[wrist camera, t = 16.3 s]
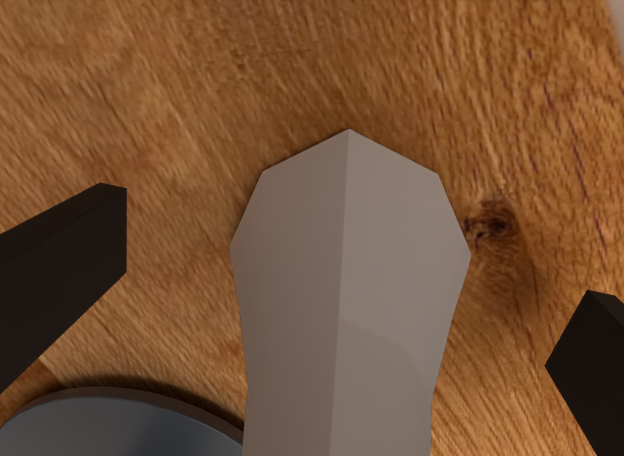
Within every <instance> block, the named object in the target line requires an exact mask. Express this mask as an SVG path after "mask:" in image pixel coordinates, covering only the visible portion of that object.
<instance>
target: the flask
mask: <svg viewBox="0 0 624 456" xmlns="http://www.w3.org/2000/svg"><path fill="white" fill-rule="evenodd" d="M229 250H230V259H231V265H232V271H233V276H234V282H235V288H236V293H237V299H238V304H239V312H240V321H241V330H242V339H243V348H244V357H245V366H246V375H247V384H248V390H247V401H246V412H245V424H244V435H243V446H242V456H430V447H431V418H432V398H433V394H434V390H435V386H436V382H437V378H438V374H439V370H440V365H441V361H442V357H443V353H444V349H445V345H446V341H447V337H448V333H449V329H450V325H451V321H452V317H453V314H454V311H455V308H456V305H457V302H458V299H459V295H460V292H461V289H462V286H463V283H464V280H465V277H466V274H467V271H468V267H469V263H470V259H471V253H470V250H469V248H468V245H467V243H466V241H465V238H464V236H463V233H462V231H461V228H460V226H459V224H458V221H457V219H456V216H455V214H454V212H453V209H452V207H451V204H450V202H449V200H448V197H447V195H446V192H445V190H444V188H443V185H442V183H441V180H440V178H439V175H438V174H437V173H435V172H433V171H431V170H429V169H427V168H425V167H423V166H421V165H419V164H417V163H415V162H413V161H411V160H409V159H408V158H406V157H404V156H402V155H400V154H398V153H396V152H394V151H392V150H390V149H388V148H386V147H384V146H382V145H380V144H378V143H376V142H374V141H372V140H370V139H368V138H367V137H365V136H363V135H361V134H359V133H357V132H355V131H353V130H351V129H347V130H345V131H343V132H341V133H339V134H337V135H335V136H333V137H331V138H329V139H327V140H325V141H323V142H321V143H319V144H317V145H315V146H313V147H311V148H309V149H307V150H305V151H303V152H301V153H299V154H297V155H295V156H293V157H291V158H289V159H287V160H285V161H283V162H281V163H279V164H277V165H275V166H273V167H271V168H269V169H267V170H265V171H263V172H262V174H261V176H260V178H259V180H258V183H257V185H256V187H255V189H254V192H253V194H252V196H251V198H250V201H249V203H248V205H247V208H246V210H245V212H244V214H243V217H242V219H241V221H240V223H239V226H238V228H237V230H236V232H235V235H234V237H233V239H232V242H231V244H230V246H229Z"/></svg>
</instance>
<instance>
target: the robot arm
mask: <svg viewBox="0 0 624 456" xmlns="http://www.w3.org/2000/svg"><path fill="white" fill-rule="evenodd" d="M126 272H127V188H123V187H118V186H114V185H109V184H105V183H98V184H96V185H94V186H92V187H90V188H88V189H86V190H85V191H83V192H81V193H79V194H77V195H75V196H73V197H71V198H69V199H67V200H65V201H63V202H61V203H60V204H58V205H56V206H54V207H52V208H50V209H48V210H46V211H44V212H42V213H40V214H38V215H36V216H35V217H33V218H31V219H29V220H27V221H25V222H23V223H21V224H19V225H17V226H15V227H13V228H11V229H10V230H8V231H6V232H4V233H2V234H0V394H1V393H2V392H3V391H4V390H5V389H6V388H7V387H8V386H9V385H10V384H12V383H13V382H14V381H15V380H16V379H17V378H18V377H19V376H20V375H21V374H22V373H23V372H24V371H25V370H26V369H27V368H28V367H29V366H30V365H31V364H32V363H33V362H34V361H35V360H36V359H37V358H38V357H39V356H40V355H42V354H43V353H44V352H45V351H46V350H47V349H48V348H49V347H50V346H51V345H52V344H53V343H54V342H55V341H56V340H57V339H58V338H59V337H60V336H61V335H62V334H63V333H64V332H65V331H66V330H67V329H68V328H69V327H70V326H72V325H73V324H74V323H75V322H76V321H77V320H78V319H79V318H80V317H81V316H82V315H83V314H84V313H85V312H86V311H87V310H88V309H89V308H90V307H91V306H92V305H93V304H94V303H95V302H96V301H97V300H98V299H99V298H100V297H102V296H103V295H104V294H105V293H106V292H107V291H108V290H109V289H110V288H111V287H112V286H113V285H114V284H115V283H116V282H117V281H118V280H119V279H120V278H121V277H122V276H123V275H124V274H125V273H126ZM544 366H545V368H546V369H547V371H548V373H549V374H550V376H551V378H552V380H553V381H554V383H555V385H556V386H557V388H558V390H559V392H560V393H561V395H562V397H563V398H564V400H565V402H566V403H567V405H568V407H569V409H570V410H571V412H572V414H573V415H574V417H575V419H576V421H577V422H578V424H579V426H580V427H581V429H582V431H583V433H584V434H585V436H586V438H587V439H588V441H589V443H590V445H591V446H592V448H593V450H594V451H595V453H596V455H597V456H624V304H623V303H622V302H621V301H620V300H619V299H618V298H617V297H616V296H614V295H610V294H605V293H601V292H596V291H591V290H587V291H586V293H585V294H584V296H583V298H582V300H581V302H580V303H579V305H578V307H577V309H576V310H575V312H574V314H573V316H572V318H571V319H570V321H569V323H568V325H567V326H566V328H565V330H564V332H563V333H562V335H561V337H560V339H559V341H558V342H557V344H556V346H555V348H554V349H553V351H552V353H551V355H550V357H549V358H548V360H547V362H546V364H545V365H544Z"/></svg>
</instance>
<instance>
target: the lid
mask: <svg viewBox="0 0 624 456" xmlns="http://www.w3.org/2000/svg"><path fill="white" fill-rule="evenodd" d="M243 435H244V432H242V431H241V430H239V429H238V428H236V427H234V426H233V425H231V424H229V423H228V422H226V421H224V420H223V419H221V418H219V417H217V416H215V415H213V414H211V413H209V412H207V411H205V410H203V409H201V408H199V407H196V406H193V405H191V404H188V403H185V402H183V401H180V400H177V399H174V398H171V397H167V396H163V395H160V394H156V393H153V392H147V391H142V390H136V389H130V388H120V387H108V386H98V387H79V388H72V389H65V390H61V391H57V392H54V393H50V394H47V395H44V396H42V397H40V398H37V399H35V400H33V401H31V402H29V403H27V404H26V405H24V406H23V407H21V408H20V409H19V410H17V411H16V412H15V413H14V414H13V415H12V416H11V417H10V418H9V419H8V420H7V421H6V422H5V423H4V424H3V425H2V426H1V427H0V456H242V446H243Z"/></svg>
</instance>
